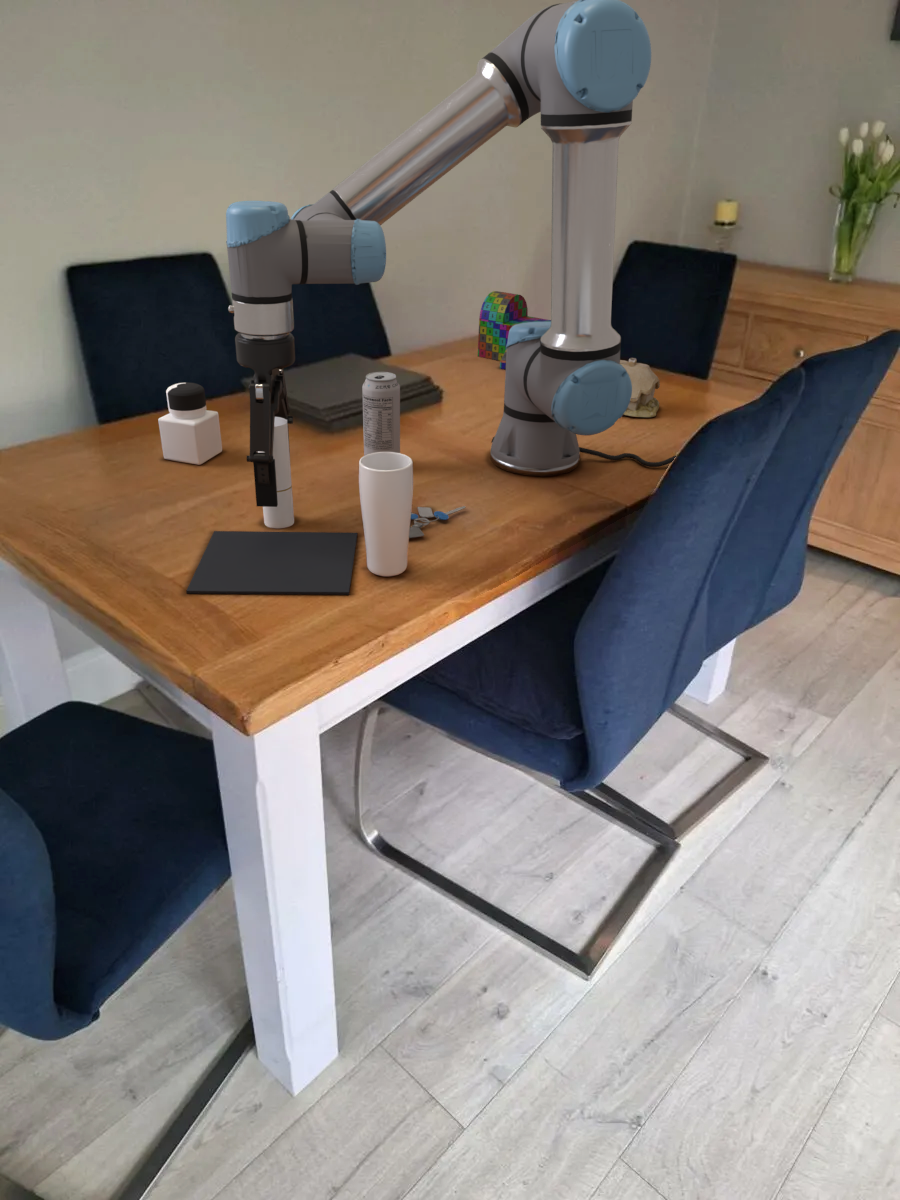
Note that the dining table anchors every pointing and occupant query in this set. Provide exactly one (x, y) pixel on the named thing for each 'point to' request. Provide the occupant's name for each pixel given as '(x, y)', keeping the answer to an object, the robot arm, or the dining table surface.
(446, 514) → the key chain
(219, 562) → the charcoal mat
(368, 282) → the robot arm
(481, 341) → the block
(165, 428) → the medicine bottle
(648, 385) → the ceramic model
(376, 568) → the drinking glass
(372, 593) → the dining table surface
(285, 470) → the tube
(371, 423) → the energy drink can
